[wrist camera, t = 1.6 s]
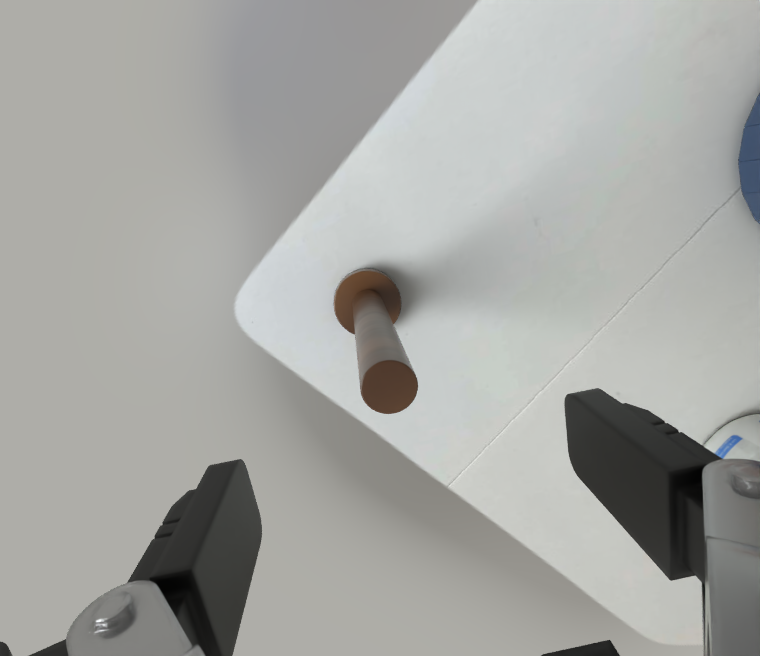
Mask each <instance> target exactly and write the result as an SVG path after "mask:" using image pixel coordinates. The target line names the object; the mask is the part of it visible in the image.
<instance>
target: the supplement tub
mask: <svg viewBox="0 0 760 656" xmlns="http://www.w3.org/2000/svg"><path fill="white" fill-rule="evenodd" d="M704 447H705V448H707V449H708V450H710V451H711V452H713V453H714V454H716V455H717V456H719V457H721V458H722V459H731V458H732V459H749V460H755V461H760V414H754V415H749V416H745V417H742V418H739V419H736V420H734V421H732V422H730V423H728V424H727V425H725V426H724V427H722V428H721V429H719V430H718V431H717V432H716V433H715V434H714V435H713V436H712V437H711V438H710V439H709V440H708V441H707V442H706V444H705V445H704Z"/></svg>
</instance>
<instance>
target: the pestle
mask: <svg viewBox="0 0 760 656" xmlns="http://www.w3.org/2000/svg"><path fill="white" fill-rule="evenodd" d="M400 310H401V297H400V293H399V291H398V289H397V287H396V285H395V284H394V282H393V281H392V280H391V279H390V278H389V277H388V276H387V275H386V274H384V273H382V272H380V271H378V270H375V269H359V270H356V271H353V272H351V273H350V274H348V275H347V276H345V277H344V278H343V279H342V280H341V282H340V283H339V285H338V286H337V289H336V291H335V296H334V311H335V315H336V317H337V319H338V321H339V322H340V324H341V325H342V326H343V327H344V328H345V329H346V330H347V331H349V332H351V333H352V334H355V338H356V348H357V359H358V369H359V379H360V389H361V395H362V398H363V400H364V401H365V403H366V404H367V405H368V406H369V407H370V408H371V409H373V410H375V411H377V412H379V413H384V414H392V413H397V412H400V411H402V410H404V409H405V408H407V407H408V406H409V405H410V404H411V403H412V402H413V400H414V399H415V397H416V394H417V390H418V381H417V378H416V375H415V373H414V371H413V368H412V366H411V364H410V361H409V359H408V357H407V355H406V352H405V350H404V348H403V346H402V343H401V341H400V339H399V336H398V334H397V332H396V330H395V327H394V325H393V324H394V323H395V322H396V320H397V318H398V316H399V313H400Z"/></svg>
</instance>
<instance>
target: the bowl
mask: <svg viewBox="0 0 760 656" xmlns="http://www.w3.org/2000/svg"><path fill="white" fill-rule="evenodd" d="M744 127H745V128H744V130H743V136H742V142H741V148H740V154H739V159H738V161H739V162H738V165H739V173H740V182H741V190H742V195H743V197H744V199H745V201H746V203H747V205H748V207H749V209H750V211H751V213H752V215H753V217H754V218H755V220H756V221H757V222H758V223H759V224H760V94H759V95H758V97H757V99H756V102H755V104H754V106H753V108H752V110H751V113H750V115H749V117H748V119H747V122H746V124H745V126H744Z"/></svg>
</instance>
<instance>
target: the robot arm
mask: <svg viewBox="0 0 760 656" xmlns="http://www.w3.org/2000/svg"><path fill="white" fill-rule="evenodd" d="M565 416H566V429H567V441H568V452H569V457H570V461H571V464H572V466H573V469H574V471H575V472H576V474H577V476H578V477H579V478H580V479H581V480H582V482H583V483H584V484H585V485H586V486H587V487H588V488H589V489H590V491H591V492H592V493H593V494H594V495H595V496H596V497H597V498H598V500H599V501H600V502H601V503H602V504H603V505H604V506H605V507H606V509H607V510H608V511H609V512H610V513H611V514H612V515H613V516H614V518H615V519H616V520H617V521H618V522H619V523H620V524H621V525H622V527H623V528H624V529H625V530H626V531H627V532H628V533H629V534H630V536H631V537H632V538H633V539H634V540H635V541H636V542H637V543H638V545H639V546H640V547H641V548H642V549H643V550H644V551H645V552H646V554H647V555H648V556H649V557H650V558H651V559H652V560H653V561H654V563H655V564H656V565H657V566H658V567H659V568H660V569H661V570H662V572H663V573H664V574H665V575H666V576H667V577H668V578H669V579H670V580H676V579H681V578H685V577H690V576H695V575H696V577H697V578H698V579H699V580H700V581H701V582H702V622H703V654H704V656H760V461H755V460H749V459H732V458H731V459H722V458H721V457H719V456H717V455H716V454H714V453H713V452H711V451H710V450H708V449H707V448H705V447H704V446H702V445H700V444H699V443H697V442H696V441H694V440H693V439H691V438H690V437H688V436H687V435H685V434H684V433H682V432H680V433H679V432H678V430H677V429H676V428H674V427H673V426H671V425H670V424H668V423H666V424H665V422H664V421H663V420H662V419H660V418H659V417H657V416H656V415H654V414H653V413H651V412H650V411H648V410H645V409H642V408H639V407H636V406H633V405H630V404H627V403H624V404H622V403H620V402H619V401H617V400H616V399H614V398H613V397H611V396H610V395H608V394H607V393H606V392H604V391H603V390H601V389H598V388H596V389H591V390H586V391H581V392H576V393H571V394H568V395H567V396H566V397H565ZM261 537H262V525H261V518H260V513H259V509H258V506H257V502H256V499H255V495H254V492H253V489H252V485H251V482H250V478H249V475H248V471H247V468H246V465H245V463H244V462H243V460H241V459H239V460H234V461H229V462H224V463H219V464H214V465H210V466H209V467H208V468H207V470H206V472H205V474H204V475H203V477H202V479H201V481H200V483H199V485H198V487H197V489H195V490H190V491H188V492H187V493H186V494H185V495H184V496H183V497H181V498H180V499H179V500H178V501H177V502H176V503H175V504H174V505H173V506H172V507H171V509H170V510H169V512H168V514H167V516H166V517H165V519H164V521H163V525H162V526H160V527H159V529H158V531H157V533H156V534H155V539H153V540H152V541H151V543H150V545H149V546H148V548H147V550H146V552H145V553H144V555H143V557H142V559H141V560H140V562H139V563H138V565H137V567H136V569H135V570H134V572H133V574H132V575H131V577H130V579H129V580H128V582H127V583H126V584H123V585H121V586H119V587H116V588H114V589H112V590H110V591H108V592H107V593H105V594H104V595H102V596H100V597H99V598H97V599H96V600H95V601H94V602H92V603H91V604H90V605H89V606H88V607H86V608H85V609H84V610H83V611H82V613H80V615H79V616H78V617H77V618H76V619H75V621H74V622H73V624H72V625H71V627H70V629H69V631H68V634H67V637H66V639H65V640H63V641H61V642H59V643H56V644H54V645H52V646H50V647H47V648H46V649H43V650H41V651H38V652H36V653H34V654H32V655H29V656H232V655H233V651H234V647H235V643H236V639H237V635H238V631H239V627H240V623H241V619H242V615H243V611H244V607H245V603H246V599H247V595H248V591H249V587H250V583H251V579H252V575H253V571H254V567H255V563H256V559H257V556H258V551H259V548H260V544H261ZM0 656H12V654H11V652H10V650H9V648H8V646H7V645H6V644H5V643H3V642H0ZM542 656H620V655H619V654H618V653H617V650H616V649H615V648H614V646H613V644H612V643H611V641H610V640H607V641H602V642H598V643H593V644H588V645H585V646H580V647H575V648H570V649H566V650H561V651H556V652H552V653H547V654H543V655H542Z"/></svg>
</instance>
